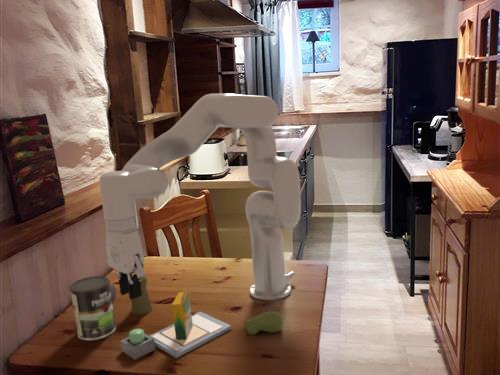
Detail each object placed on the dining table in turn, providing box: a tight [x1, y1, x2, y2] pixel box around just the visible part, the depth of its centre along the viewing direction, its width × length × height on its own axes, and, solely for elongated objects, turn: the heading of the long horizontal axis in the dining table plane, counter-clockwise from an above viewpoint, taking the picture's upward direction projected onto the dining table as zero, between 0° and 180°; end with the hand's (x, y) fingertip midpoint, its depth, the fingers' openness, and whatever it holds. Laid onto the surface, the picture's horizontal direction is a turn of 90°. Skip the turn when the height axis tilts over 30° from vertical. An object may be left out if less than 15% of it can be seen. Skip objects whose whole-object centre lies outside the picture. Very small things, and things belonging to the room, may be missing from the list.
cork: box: [131, 274, 153, 316], centre depth 149 cm, size 6×6×11 cm
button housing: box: [120, 332, 156, 361], centre depth 127 cm, size 6×6×3 cm
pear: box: [244, 310, 284, 336], centre depth 132 cm, size 6×5×10 cm
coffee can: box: [69, 275, 117, 342], centre depth 137 cm, size 10×10×14 cm
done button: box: [128, 328, 145, 346], centre depth 127 cm, size 4×4×4 cm
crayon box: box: [171, 285, 193, 340], centre depth 131 cm, size 7×3×12 cm, turn 173°
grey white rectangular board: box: [149, 311, 232, 359], centre depth 133 cm, size 18×13×1 cm
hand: (131, 294), depth 124 cm, fingers open, 3 cm apart
